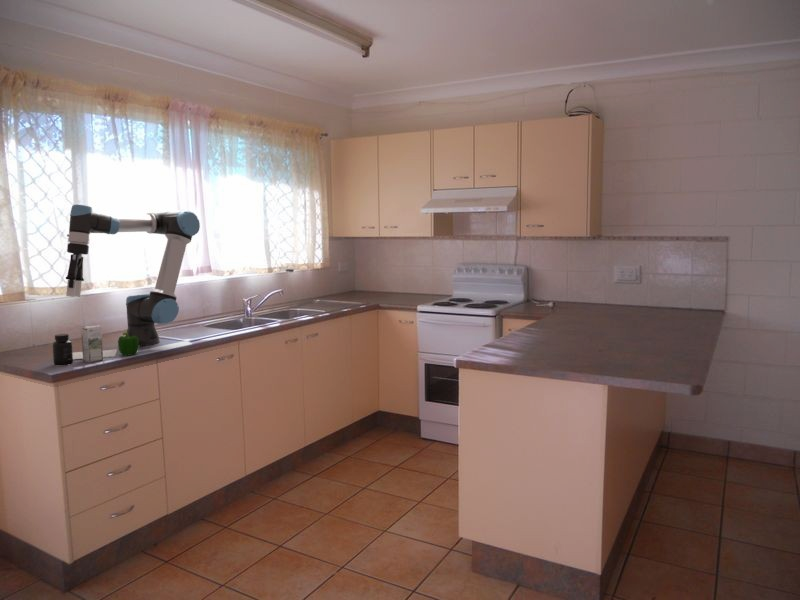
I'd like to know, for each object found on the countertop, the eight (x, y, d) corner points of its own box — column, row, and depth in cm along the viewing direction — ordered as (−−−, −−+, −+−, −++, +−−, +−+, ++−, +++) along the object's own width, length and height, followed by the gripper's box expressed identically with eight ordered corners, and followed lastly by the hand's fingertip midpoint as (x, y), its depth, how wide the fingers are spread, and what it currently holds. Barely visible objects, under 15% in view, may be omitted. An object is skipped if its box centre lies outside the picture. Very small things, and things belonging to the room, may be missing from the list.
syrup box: (97, 358, 252) (94, 324, 250) (103, 360, 248) (101, 325, 246) (82, 360, 247) (80, 325, 245) (89, 362, 243) (87, 327, 242)
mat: (117, 350, 268) (117, 349, 268) (115, 357, 254) (115, 356, 254) (71, 353, 261) (71, 352, 261) (67, 360, 247) (66, 359, 247)
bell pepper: (132, 351, 265) (130, 329, 263) (143, 354, 260) (141, 331, 259) (113, 355, 258) (112, 332, 256) (124, 357, 253) (123, 334, 252)
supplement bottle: (49, 365, 239) (47, 335, 238) (64, 361, 246) (62, 332, 244) (62, 366, 237) (60, 336, 235) (77, 363, 243) (75, 333, 242)
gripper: (73, 245, 252) (68, 295, 252) (61, 239, 228) (56, 295, 228) (93, 247, 254) (88, 297, 254) (83, 242, 231) (78, 297, 231)
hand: (73, 296), depth 241 cm, fingers open, 13 cm apart
